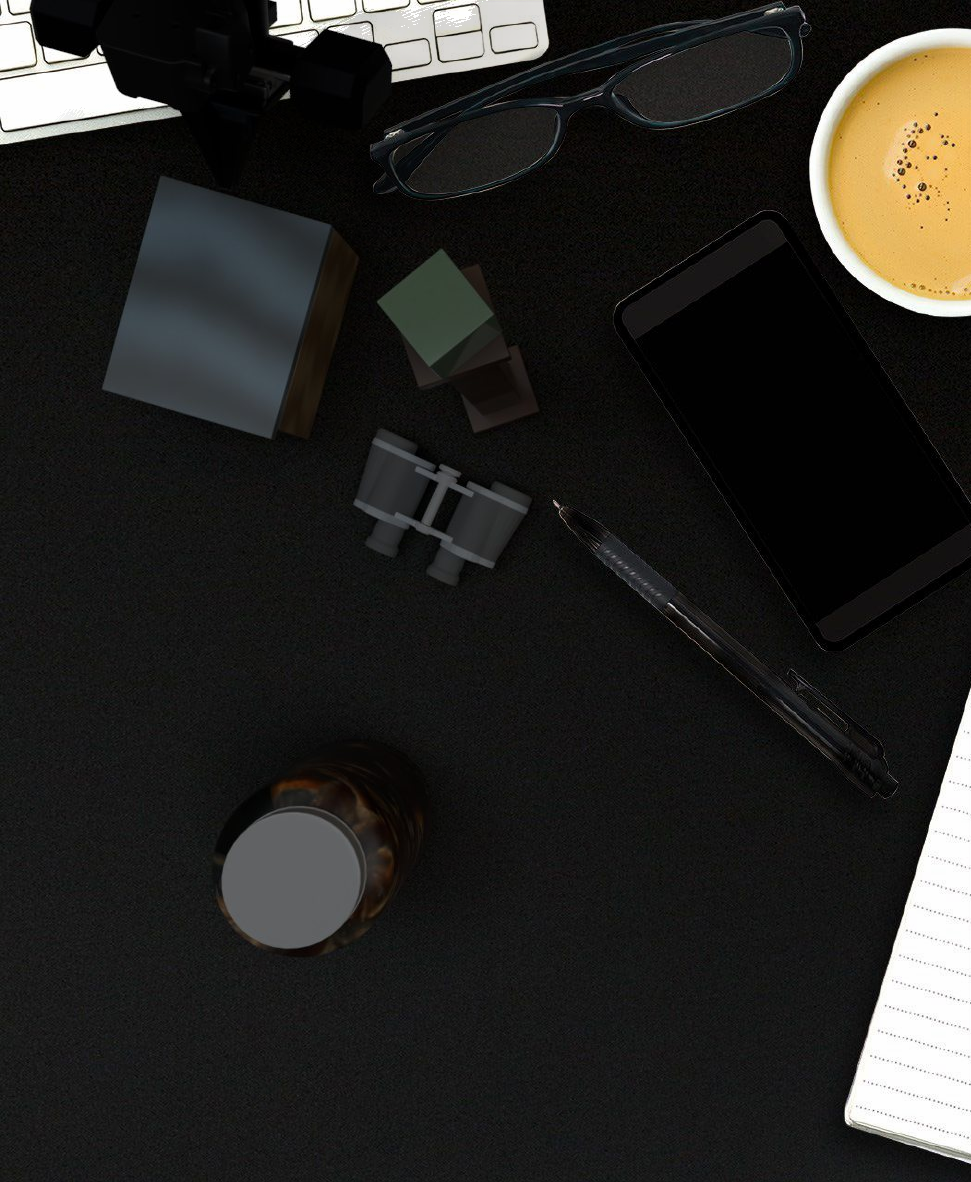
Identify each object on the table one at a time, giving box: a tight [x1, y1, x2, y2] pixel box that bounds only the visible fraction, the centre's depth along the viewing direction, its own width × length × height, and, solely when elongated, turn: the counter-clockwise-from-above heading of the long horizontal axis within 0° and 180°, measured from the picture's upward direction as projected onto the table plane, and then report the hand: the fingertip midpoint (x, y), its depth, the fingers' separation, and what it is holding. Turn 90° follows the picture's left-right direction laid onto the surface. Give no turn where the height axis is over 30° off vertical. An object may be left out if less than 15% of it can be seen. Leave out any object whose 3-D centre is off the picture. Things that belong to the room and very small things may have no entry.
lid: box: [101, 175, 335, 441], centre depth 69 cm, size 14×12×1 cm
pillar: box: [398, 263, 542, 436], centre depth 65 cm, size 5×5×22 cm
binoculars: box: [352, 427, 533, 587], centre depth 75 cm, size 12×8×4 cm, turn 65°
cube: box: [376, 248, 504, 380], centre depth 52 cm, size 4×4×4 cm
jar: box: [211, 739, 434, 959], centre depth 70 cm, size 12×12×15 cm
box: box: [277, 228, 360, 440], centre depth 73 cm, size 14×12×7 cm
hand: (228, 186), depth 65 cm, fingers closed
